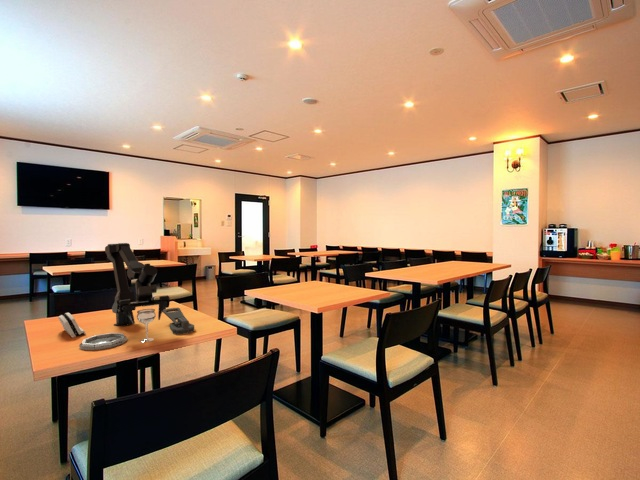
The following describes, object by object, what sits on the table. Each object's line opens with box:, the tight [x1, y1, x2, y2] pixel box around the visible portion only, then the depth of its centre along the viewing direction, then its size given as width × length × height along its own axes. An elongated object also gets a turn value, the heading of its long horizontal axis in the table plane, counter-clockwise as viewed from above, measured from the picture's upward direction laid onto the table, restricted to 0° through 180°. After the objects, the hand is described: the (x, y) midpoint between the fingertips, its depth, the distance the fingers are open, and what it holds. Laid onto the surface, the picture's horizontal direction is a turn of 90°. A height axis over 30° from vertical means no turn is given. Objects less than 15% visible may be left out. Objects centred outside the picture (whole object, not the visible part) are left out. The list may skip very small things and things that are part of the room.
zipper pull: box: [162, 307, 195, 336], centre depth 157 cm, size 9×7×25 cm
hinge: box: [57, 312, 87, 338], centre depth 151 cm, size 17×5×10 cm, turn 46°
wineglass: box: [136, 308, 156, 343], centre depth 139 cm, size 7×7×12 cm
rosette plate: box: [78, 332, 128, 352], centre depth 136 cm, size 16×16×2 cm
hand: (146, 321), depth 139 cm, fingers open, 9 cm apart
